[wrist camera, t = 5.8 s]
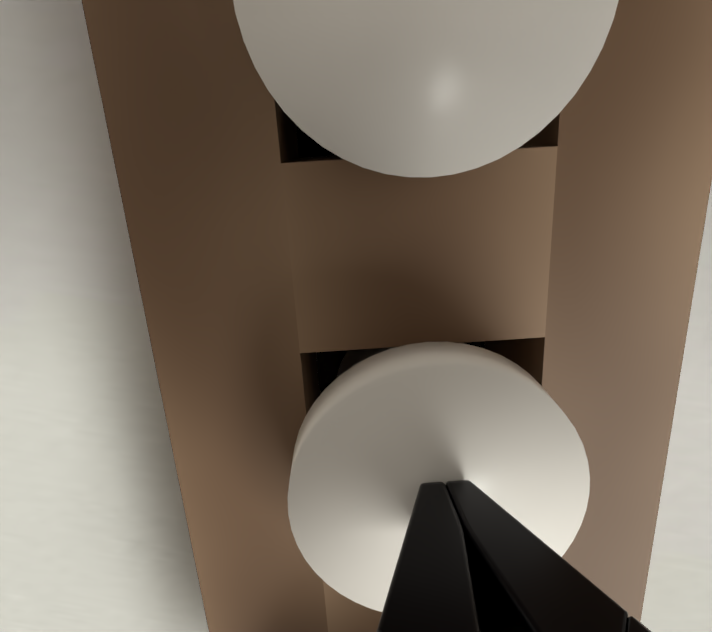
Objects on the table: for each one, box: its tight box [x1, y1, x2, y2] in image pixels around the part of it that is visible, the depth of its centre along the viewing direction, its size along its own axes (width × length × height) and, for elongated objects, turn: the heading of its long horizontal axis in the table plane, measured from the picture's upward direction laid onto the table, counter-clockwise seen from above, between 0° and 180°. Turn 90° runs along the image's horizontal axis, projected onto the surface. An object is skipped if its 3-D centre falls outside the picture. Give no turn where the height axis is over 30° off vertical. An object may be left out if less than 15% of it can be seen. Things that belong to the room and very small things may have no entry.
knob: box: [233, 0, 619, 177], centre depth 9 cm, size 5×5×4 cm
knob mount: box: [82, 0, 712, 632], centre depth 12 cm, size 10×22×4 cm, turn 3°
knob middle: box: [288, 342, 590, 612], centre depth 11 cm, size 5×5×4 cm
